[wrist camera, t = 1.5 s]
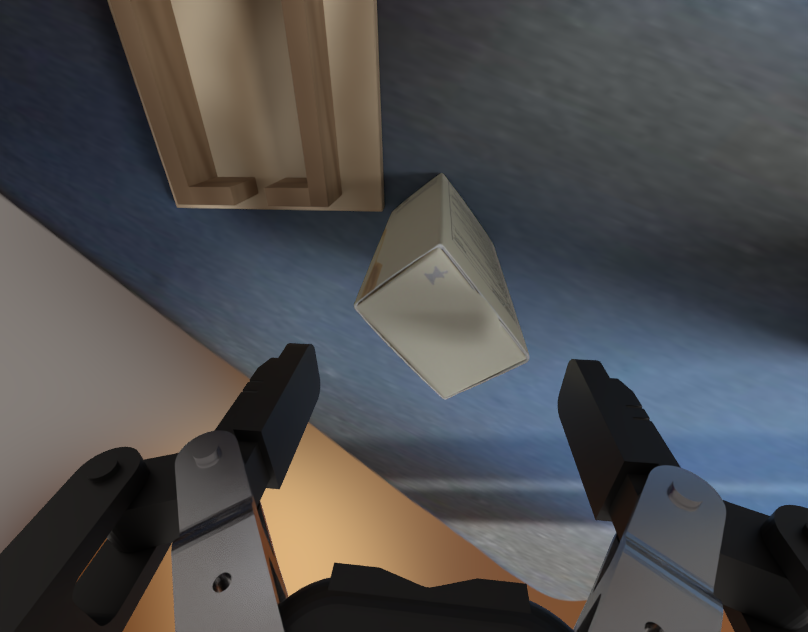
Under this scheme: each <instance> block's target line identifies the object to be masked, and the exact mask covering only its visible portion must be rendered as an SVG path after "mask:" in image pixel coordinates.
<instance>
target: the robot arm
mask: <svg viewBox="0 0 808 632" xmlns="http://www.w3.org/2000/svg"><path fill="white" fill-rule="evenodd" d="M319 393H320V377H319V371H318V365H317V360H316V354H315V349H314V346H313V345H312V344H296V343H289V344H287V345H286V347H285V348H284V350H283V352H282V353H281V355H280V356H279V358H270V359H269V360H268V361H266V362H265V363H264V364H262V365H261V366H260V367H258V369H257V370H256V371H255V373H254V374H253V376H252V377H251V379H250V382H248V383H247V384H246V386H245V387H244V389H243V392H241V393H240V395H239V396H238V397H237V399H236V400H235V402H234V403H233V405H232V406H231V408H230V409H229V410H228V412H227V413H226V415H225V416H224V418H223V419H222V421H221V422H220V424H219V425H218V427H217V428H216V429H215V430H214V431H211V432H207V433H204V434H202V435H199V436H198V437H196V438H194V439H193V440H191V441H190V442H188V443H187V444H186V445H185V446H184V447H183V448H182V450H181V451H180V452H179V453H176V454H172V455H166V456H161V457H156V458H150V459H145V460H143V458H142V457H141V455H140V453H139V452H138V451H137V450H136V449H134V448H131V447H119V448H114V449H111V450H108V451H105V452H103V453H101V454H99V455H97V456H95V457H94V458H92V459H90V460H89V461H87V462H86V463H85V464H83V465H82V466H81V467H80V468H79V469H78V470H77V471H76V472H75V473H74V474H73V475H72V476H71V477H70V479H69V480H68V481H67V482H66V483H65V484H64V485H63V486H62V487H61V488H60V490H59V491H58V492H57V493H56V494H55V495H54V496H53V497H52V498H51V499H50V500H49V501H48V503H47V504H46V505H45V506H44V507H43V508H42V509H41V510H40V511H39V512H38V514H37V515H36V516H35V517H34V518H33V519H32V520H31V521H30V522H29V523H28V524H27V525H26V526H25V528H24V529H23V530H22V531H21V532H20V533H19V534H18V535H17V536H16V537H15V539H14V540H13V541H12V542H11V543H10V544H9V545H8V546H7V547H6V548H5V549H4V550H3V552H2V553H1V554H0V632H122V631H123V630H124V628H125V626H126V624H127V622H128V621H129V619H130V617H131V615H132V614H133V612H134V610H135V608H136V606H137V604H138V603H139V601H140V599H141V597H142V596H143V594H144V592H145V590H146V588H147V587H148V585H149V583H150V581H151V579H152V577H153V576H154V574H155V572H156V570H157V569H158V567H159V565H160V563H161V561H162V560H163V558H164V556H165V554H166V552H167V551H168V549H169V547H170V545H171V543H172V542H173V543H172V550H171V556H172V576H173V595H174V614H175V632H721V626H722V619H723V609H724V611H725V613H726V615H727V617H728V619H729V621H730V623H731V625H732V627H733V629H734V631H735V632H808V508H805V507H801V506H796V505H784V506H781V507H779V508H778V509H777V510H776V511H775V512H774V513H773V514H772V515H771V516H768V515H765V514H762V513H759V512H756V511H753V510H750V509H747V508H744V507H741V506H738V505H735V504H732V503H729V502H727V501H724V500H722V498H721V497H720V495H719V494H718V493H717V492H716V490H715V489H714V488H713V487H712V486H711V485H710V484H708V483H707V482H706V481H705V480H703V479H702V478H700V477H699V476H697V475H696V474H694V473H692V472H690V471H688V470H685V469H683V468H681V467H680V466H679V464H678V462H677V461H676V459H675V458H674V456H673V454H672V453H671V451H670V450H669V448H668V447H667V445H666V443H665V442H664V440H663V439H662V437H661V435H660V434H659V432H658V431H657V429H656V427H655V426H654V424H653V423H652V421H650V420H649V416H648V415H647V413H646V412H645V410H644V409H642V405H641V404H640V402H639V400H638V399H637V397H636V396H635V394H634V393H633V391H632V390H630V389H629V388H628V387H627V386H626V385H625V384H623V383H622V382H621V381H620V380H619V379H614V378H609V376H608V374H607V372H606V371H605V369H604V367H603V365H602V364H601V363H600V362H599V361H596V360H578V359H571V360H570V361H569V363H568V366H567V369H566V373H565V376H564V379H563V383H562V386H561V389H560V393H559V397H558V413H559V417H560V420H561V423H562V426H563V429H564V432H565V434H566V437H567V440H568V443H569V446H570V449H571V451H572V454H573V457H574V460H575V463H576V466H577V469H578V471H579V474H580V477H581V480H582V483H583V486H584V489H585V491H586V494H587V497H588V500H589V503H590V506H591V508H592V511H593V514H594V517H595V520H602V521H612V522H613V525H614V527H615V530H616V534H615V536H614V537H613V540H612V542H611V544H610V547H609V549H608V552H607V554H606V556H605V559H604V561H603V564H602V566H601V569H600V571H599V573H598V576H597V578H596V581H595V583H594V585H593V588H592V590H591V593H590V595H589V597H588V600H587V602H586V604H585V606H584V608H583V610H582V612H581V614H580V616H579V618H578V620H577V623H576V625H575V627H574V629H571V628H570V627H569V626H568V625H567V624H566V623H565V622H563V621H562V620H561V619H560V618H558V617H557V616H556V615H554V614H553V613H551V612H550V611H549V610H547V609H545V608H543V607H542V606H540V605H538V604H536V603H534V602H532V601H529V597H528V591H527V584H523V583H513V582H505V581H496V580H486V579H472V580H467V581H462V582H457V583H452V584H447V585H442V586H436V587H431V588H429V587H424V586H421V585H419V584H416V583H414V582H412V581H409V580H407V579H405V578H402V577H400V576H398V575H396V574H393V573H391V572H388V571H386V570H384V569H382V568H377V567H369V566H360V565H351V564H342V563H334V566H333V570H332V574H331V578H326V579H322V580H320V581H317V582H314V583H311V584H309V585H307V586H305V587H303V588H301V589H300V590H298V591H297V592H295V593H293V594H292V595H290V596H289V597H288V594H287V591H286V587H285V584H284V581H283V578H282V575H281V572H280V569H279V565H278V562H277V559H276V555H275V551H274V548H273V544H272V541H271V537H270V534H269V530H268V526H267V523H266V519H265V516H264V512H263V509H262V505H261V502H260V499H261V497H262V495H263V493H264V491H265V489H266V488H272V489H280V487H281V485H282V483H283V480H284V478H285V475H286V473H287V471H288V468H289V466H290V464H291V461H292V459H293V457H294V454H295V452H296V449H297V447H298V445H299V442H300V440H301V438H302V435H303V433H304V431H305V428H306V426H307V424H308V421H309V419H310V417H311V414H312V412H313V409H314V407H315V405H316V402H317V400H318V397H319ZM106 538H108V539H107V540H106V542H105V543H104V545H103V546H102V547H101V549H100V550H99V551H98V553H97V554H96V556H95V557H94V558H93V560H92V561H91V563H90V564H89V566H88V567H87V569H86V570H85V571H84V573H83V574H82V576H81V577H80V578H79V580H78V581H77V579H78V577H79V576H80V574H81V573H82V572H83V570H84V569H85V567H86V566H87V564H88V563H89V562H90V560H91V559H92V557H93V556H94V555H95V553H96V552H97V550H98V549H99V547H100V546H101V545H102V543H103V542H104V540H105V539H106ZM76 581H77V583H76Z"/></svg>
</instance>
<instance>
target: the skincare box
mask: <svg viewBox="0 0 808 632" xmlns="http://www.w3.org/2000/svg"><path fill="white" fill-rule="evenodd" d="M354 308H355V310H356V311H357V312H358V313H359V314H360V315H361V316H362V318H363V319H364V320H365V321H366V322H367V323H368V324H369V325H370V327H371V328H372V329H373V330H374V331H375V332H376V333H377V334H378V335H379V336H380V337H381V339H382V340H383V341H384V342H385V343H386V344H387V345H388V346H389V347H390V348H391V349H392V350H393V351H394V352H395V353H396V354H397V355H398V356H399V357H400V358H401V359H402V360H403V361H404V362H405V363H406V364H407V365H408V366H409V367H410V368H411V369H412V370H413V371H414V372H415V373H416V374H417V375H418V376H419V377H420V378H421V379H422V380H423V381H425V382H426V383H427V384H428V385H429V386H430V387H431V388H432V389H433V390H434V391H435V392H436V393H437V394H438V395H439V396H440V397H441V398H443V399H448V398H450V397H452V396H454V395H456V394H458V393H461V392H463V391H466V390H468V389H470V388H472V387H474V386H477V385H479V384H481V383H483V382H486V381H488V380H490V379H492V378H494V377H497V376H499V375H501V374H503V373H505V372H507V371H509V370H511V369H514V368H516V367H518V366H520V365H522V364H524V363H526V362H528V360H529V353H528V350H527V347H526V344H525V341H524V338H523V334H522V331H521V328H520V325H519V322H518V319H517V316H516V313H515V310H514V307H513V303H512V300H511V297H510V294H509V291H508V288H507V285H506V282H505V279H504V276H503V273H502V270H501V266H500V263H499V260H498V257H497V254H496V251H495V248H494V245H493V243H492V241H491V240H490V238H489V237H488V235H487V234H486V232H485V231H484V229H483V228H482V226H481V225H480V223H479V222H478V220H477V219H476V217H475V216H474V215H473V213H472V212H471V210H470V209H469V208H468V206H467V205H466V203H465V202H464V201H463V199H462V198H461V196H460V195H459V194H458V192H457V191H456V190H455V188H454V187H453V186H452V184H451V183H450V182H449V181H448V179H447V178H446V177H445V175H444V174H443V173H440V174H439V175H438V176H436V177H435V178H433V179H432V180H431V181H429V182H428V183H427V184H425V185H424V186H423V187H421V188H420V189H419V190H418V191H416V192H415V193H414V194H412V195H411V196H410V197H409V198H407V199H406V200H405V201H404V202H403V203H401V204H400V205H399V206H398V207H397V208H396V209H395V210H394V211H392V213H391V215H390V218H389V220H388V222H387V225H386V227H385V230H384V232H383V235H382V237H381V239H380V242H379V244H378V246H377V249H376V251H375V254H374V256H373V259H372V261H371V263H370V266H369V269H368V271H367V274H366V276H365V278H364V281H363V283H362V286H361V288H360V290H359V293H358V296H357V298H356V301H355V303H354Z"/></svg>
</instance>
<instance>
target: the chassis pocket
mask: <svg viewBox="0 0 808 632" xmlns="http://www.w3.org/2000/svg"><path fill="white" fill-rule="evenodd" d="M107 1H108V4H109V7H110V10H111V13H112V16H113V19H114V22H115V25H116V28H117V31H118V34H119V37H120V40H121V43H122V46H123V48H124V51H125V54H126V57H127V60H128V63H129V66H130V69H131V72H132V75H133V78H134V81H135V84H136V87H137V90H138V93H139V96H140V99H141V102H142V105H143V108H144V111H145V114H146V117H147V120H148V123H149V126H150V128H151V131H152V134H153V137H154V140H155V143H156V146H157V149H158V152H159V155H160V158H161V161H162V164H163V167H164V170H165V173H166V176H167V179H168V182H169V185H170V188H171V191H172V194H173V197H174V200H175V203H176V206H177V208H221V209H274V210H327V211H379V212H382V211H383V209H384V208H385V203H384V178H383V152H382V127H381V101H380V75H379V50H378V24H377V0H107Z"/></svg>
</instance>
